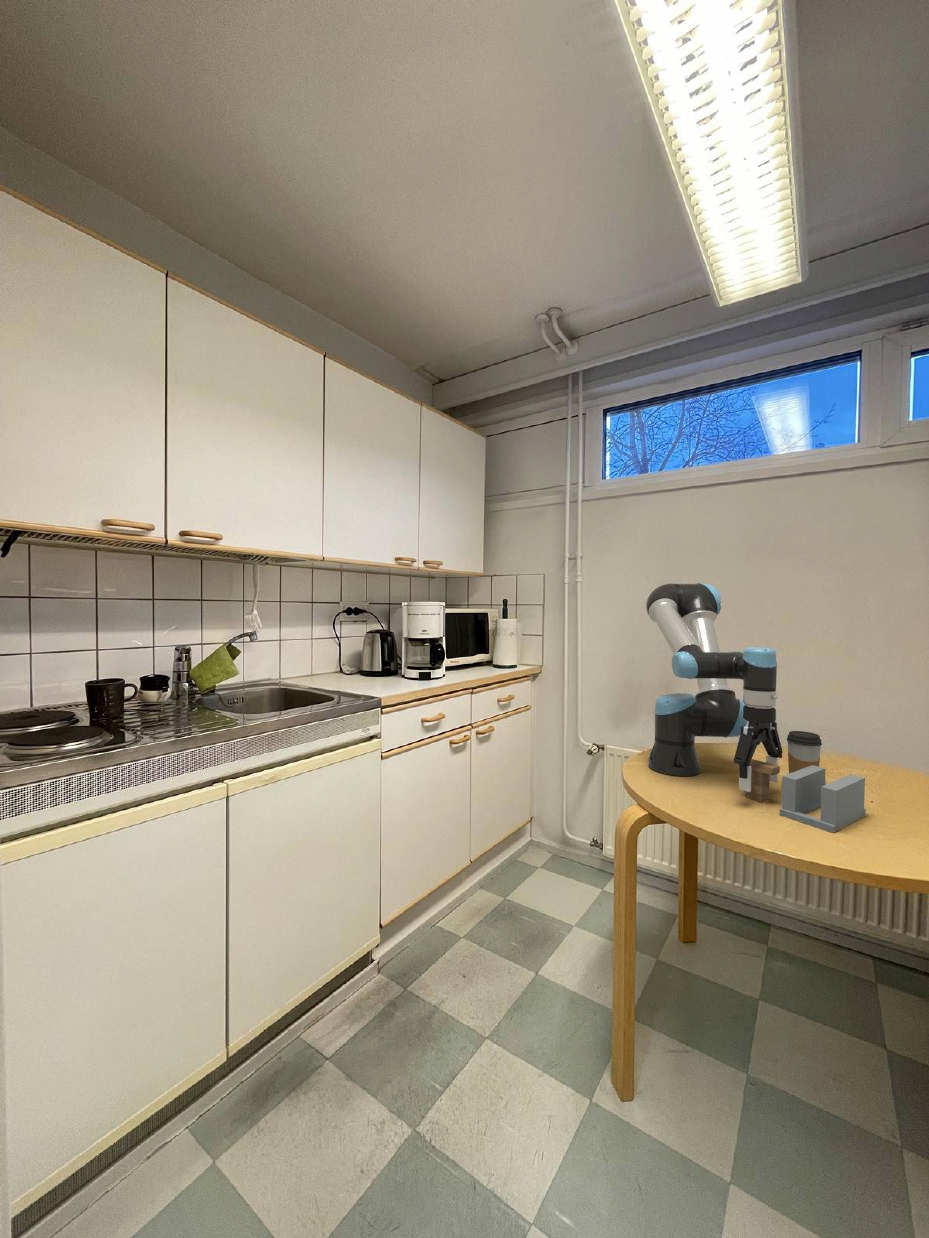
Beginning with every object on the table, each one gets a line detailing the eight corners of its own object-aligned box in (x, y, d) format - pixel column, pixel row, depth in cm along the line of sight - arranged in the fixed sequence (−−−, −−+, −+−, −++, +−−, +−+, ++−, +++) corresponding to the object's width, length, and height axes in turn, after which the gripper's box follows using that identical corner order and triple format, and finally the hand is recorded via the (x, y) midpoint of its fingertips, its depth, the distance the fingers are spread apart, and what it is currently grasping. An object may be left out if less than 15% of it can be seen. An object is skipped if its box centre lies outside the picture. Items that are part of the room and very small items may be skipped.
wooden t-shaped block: (736, 794, 135) (737, 759, 135) (744, 792, 137) (745, 756, 137) (771, 806, 128) (772, 768, 127) (779, 803, 130) (780, 765, 129)
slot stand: (779, 815, 122) (780, 776, 122) (813, 799, 132) (814, 764, 132) (833, 833, 113) (834, 791, 112) (865, 815, 122) (866, 777, 122)
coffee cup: (826, 792, 137) (828, 738, 137) (793, 790, 139) (794, 737, 138) (812, 782, 145) (813, 731, 145) (780, 779, 147) (781, 729, 147)
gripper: (748, 712, 122) (748, 799, 122) (797, 703, 135) (796, 781, 135) (719, 708, 128) (718, 789, 128) (768, 699, 142) (767, 773, 142)
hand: (758, 785), depth 132 cm, fingers open, 13 cm apart
